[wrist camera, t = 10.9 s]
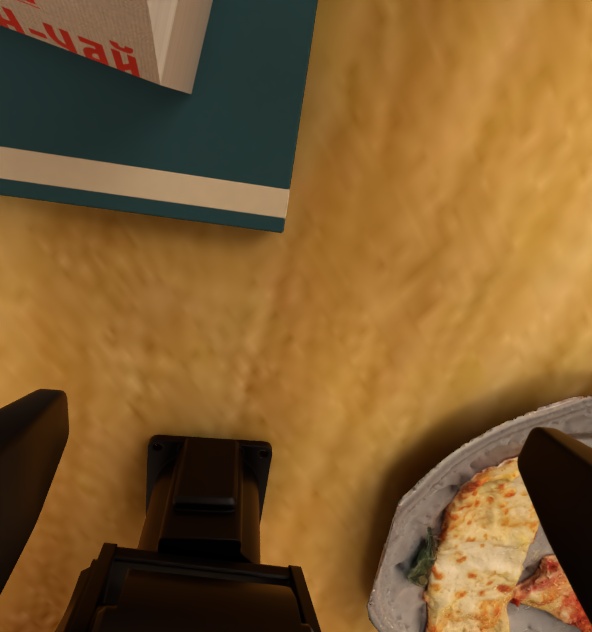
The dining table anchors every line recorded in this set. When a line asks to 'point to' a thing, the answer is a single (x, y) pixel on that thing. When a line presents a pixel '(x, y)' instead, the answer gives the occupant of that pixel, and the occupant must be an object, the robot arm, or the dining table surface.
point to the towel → (163, 122)
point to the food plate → (479, 542)
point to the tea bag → (121, 33)
